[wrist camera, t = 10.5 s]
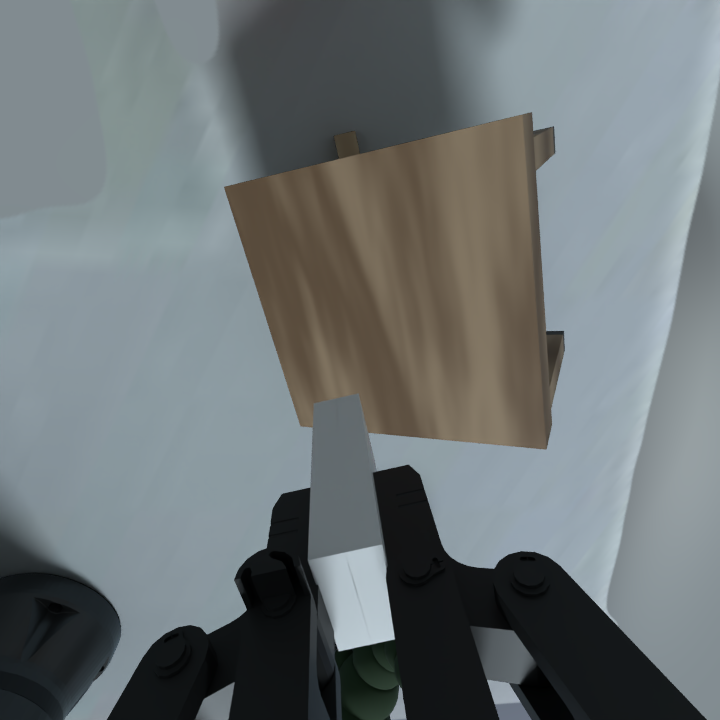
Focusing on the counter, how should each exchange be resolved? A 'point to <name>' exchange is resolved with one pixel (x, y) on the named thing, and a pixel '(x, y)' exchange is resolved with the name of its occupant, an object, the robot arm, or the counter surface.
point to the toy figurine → (369, 681)
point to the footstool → (412, 284)
